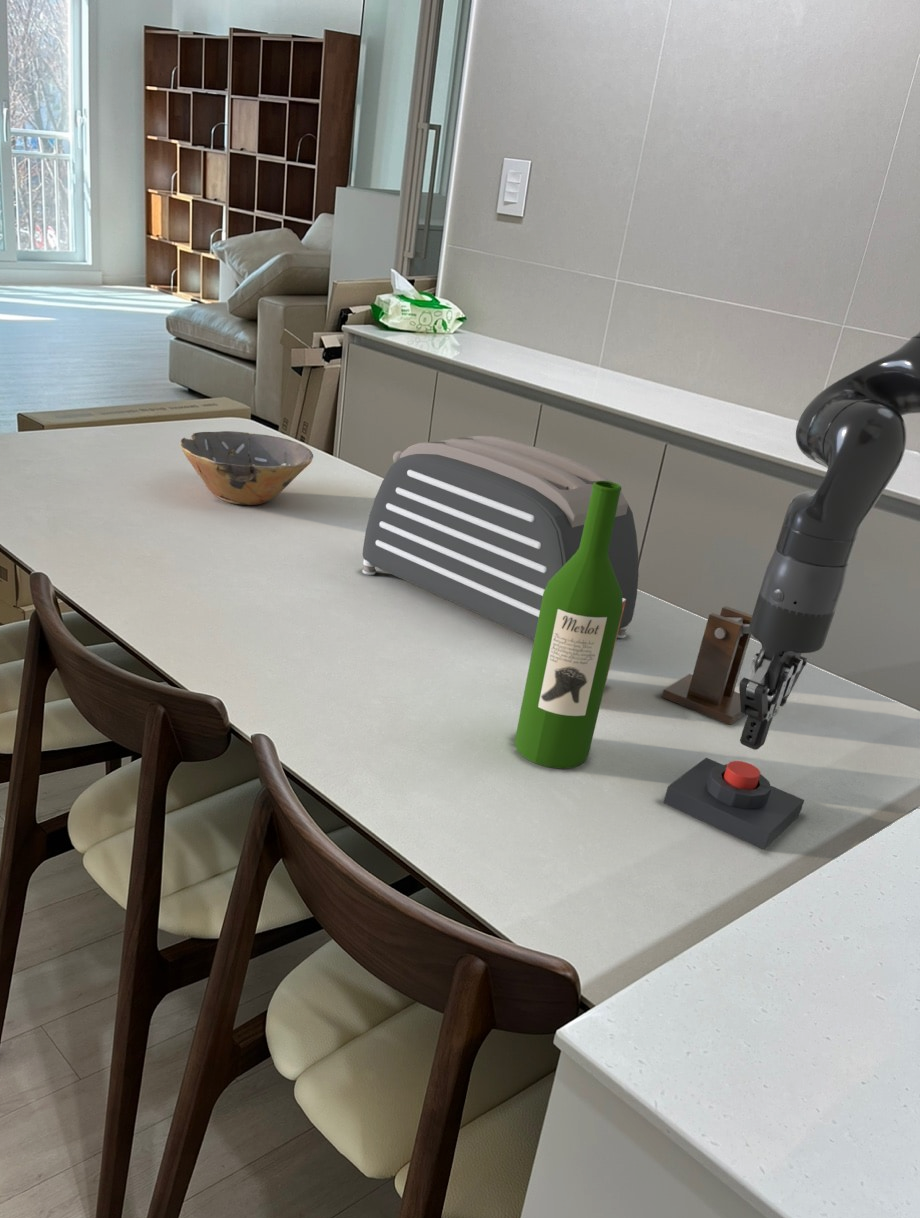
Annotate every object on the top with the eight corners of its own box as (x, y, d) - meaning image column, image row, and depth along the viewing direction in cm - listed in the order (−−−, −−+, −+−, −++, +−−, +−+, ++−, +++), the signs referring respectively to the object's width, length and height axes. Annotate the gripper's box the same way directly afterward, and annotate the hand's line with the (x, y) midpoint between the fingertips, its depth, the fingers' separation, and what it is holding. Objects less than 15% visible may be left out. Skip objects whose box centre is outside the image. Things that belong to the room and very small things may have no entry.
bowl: (306, 526, 191) (310, 471, 186) (168, 512, 190) (169, 457, 185) (312, 486, 213) (316, 437, 209) (188, 474, 212) (190, 424, 207)
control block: (798, 816, 120) (809, 786, 118) (764, 850, 113) (775, 819, 111) (701, 773, 126) (710, 744, 124) (663, 802, 119) (671, 772, 117)
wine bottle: (516, 764, 123) (570, 491, 108) (511, 727, 131) (561, 468, 116) (592, 773, 123) (657, 501, 108) (583, 736, 131) (642, 478, 116)
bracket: (754, 707, 144) (781, 621, 138) (730, 725, 138) (757, 635, 132) (687, 681, 149) (710, 596, 143) (661, 697, 144) (684, 609, 138)
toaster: (421, 546, 188) (440, 410, 177) (632, 636, 161) (669, 483, 150) (342, 565, 175) (356, 419, 164) (556, 665, 149) (591, 500, 138)
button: (761, 783, 118) (765, 770, 117) (748, 794, 115) (752, 781, 115) (731, 770, 120) (735, 757, 119) (717, 781, 117) (722, 767, 117)
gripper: (810, 624, 101) (759, 779, 109) (856, 595, 110) (806, 739, 118) (736, 599, 105) (693, 750, 113) (787, 572, 114) (743, 714, 122)
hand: (751, 744), depth 115 cm, fingers closed
